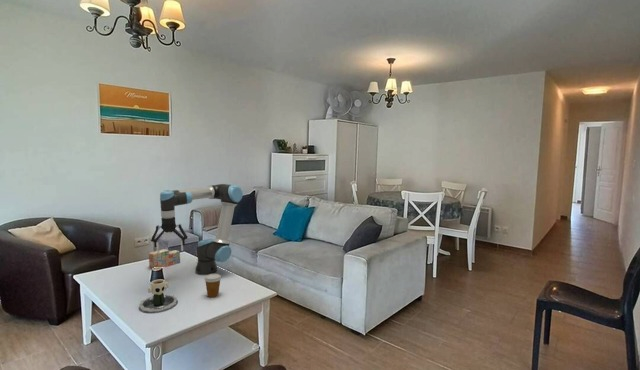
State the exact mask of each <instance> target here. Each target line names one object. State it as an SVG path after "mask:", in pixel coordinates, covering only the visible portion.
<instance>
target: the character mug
mask: <svg viewBox="0 0 640 370" xmlns="http://www.w3.org/2000/svg"><path fill="white" fill-rule="evenodd" d="M168 287H169V282H168V281H166V280H165V279H161V278H160V279H155V280H152V281H151V282H150V286H148V287H147V291H148V294H149V293H151V294H152V296H153V304H154V305H160V303H162V304H163V303H164V302H165V299H164V295H165V294H164V293H165V291H166V289H167V288H168Z"/></svg>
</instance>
